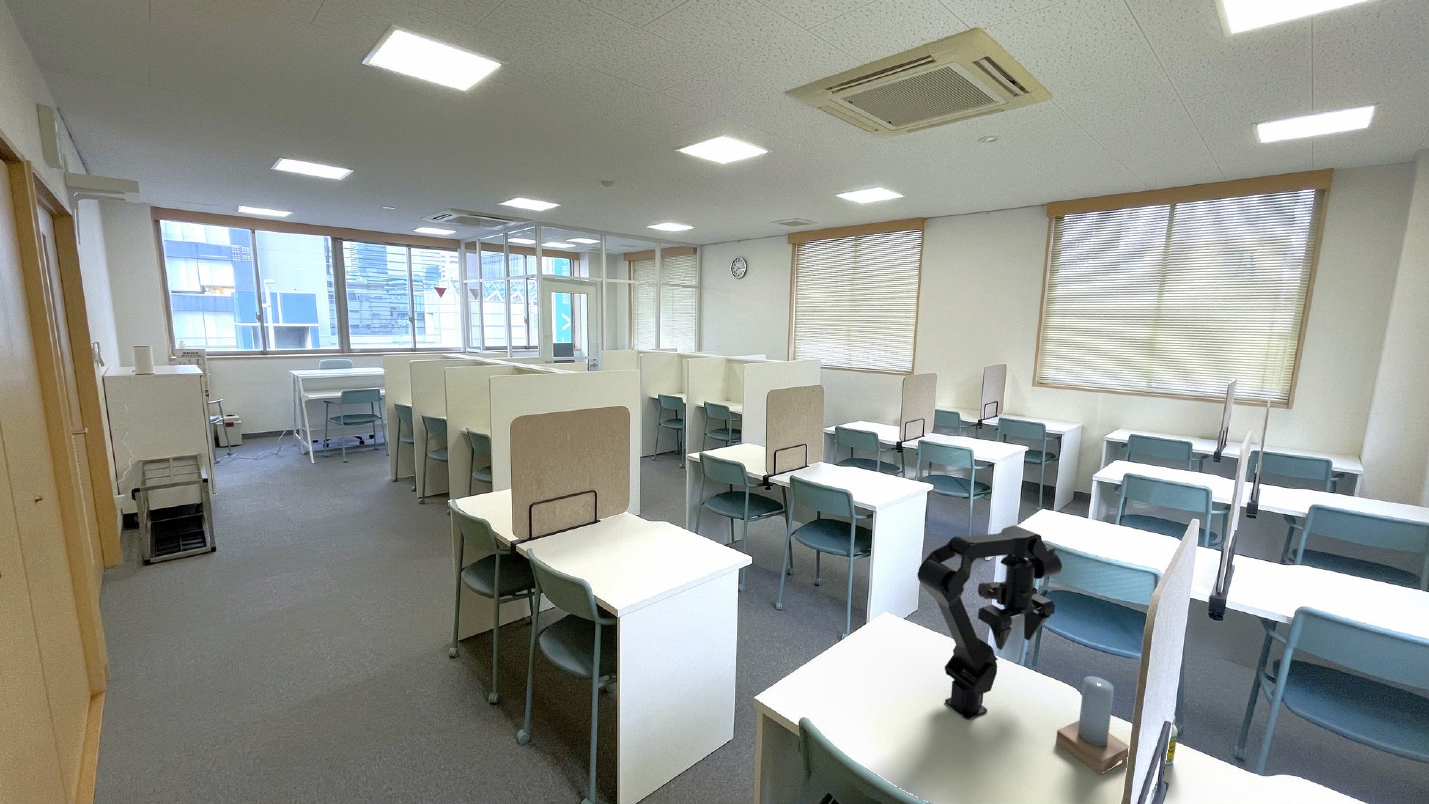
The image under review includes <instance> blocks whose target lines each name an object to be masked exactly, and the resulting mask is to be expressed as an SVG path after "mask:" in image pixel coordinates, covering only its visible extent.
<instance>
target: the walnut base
mask: <svg viewBox="0 0 1429 804" xmlns="http://www.w3.org/2000/svg"><path fill="white" fill-rule="evenodd" d="M1078 728H1079V720H1077V721H1074V722H1073V723H1070V724H1068V725H1065V726H1064V727H1060V728H1059V729H1057V731H1056V739H1055V743H1056V745H1058V746H1060V748H1062V749H1064V750H1065V751H1067V753H1069V754H1071V755H1072V756H1073V757H1075V758H1076V759H1078V761H1080V762H1081V763H1083V764H1085V765H1086V766H1087V767H1089V768H1090V769H1091V770H1093V771H1094V772H1095V771H1096V772H1095V773H1097V774H1098V775H1100V774H1101V775H1102V773H1103V772H1105V771H1107V770H1108V769H1110V768H1112V767H1113V766H1115V765H1116V764H1117V763H1118V762H1119V761H1121V760H1122V764H1125V763H1126V762H1128V761H1127V757H1128V748H1129V746H1130V745H1128V744H1127V743H1125V742H1124V741H1122V740H1121V739H1119V738H1118V737H1116V736H1114V735H1113V734H1112V733H1110V732H1109V734H1108V743H1107V745H1106V746H1105V747H1096V746H1093V745H1090V744H1088V743H1086V742H1085V741H1083V740H1082V739H1081V738H1080V737H1079V735H1078ZM1107 772H1108V771H1107ZM1105 773H1106V772H1105ZM1103 774H1104V773H1103Z"/></svg>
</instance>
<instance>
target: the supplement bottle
mask: <svg viewBox="0 0 1429 804" xmlns="http://www.w3.org/2000/svg"><path fill="white" fill-rule="evenodd" d="M1175 722H1176V716H1175V715H1174V719H1173V722H1172V735H1171V738H1170V742H1169V749H1168V753H1167V760H1166V765H1165V766H1167V765H1168V766H1169V765H1172V763H1174V759H1175V753H1176V746H1177V740H1178V728H1177V727H1176V725H1175Z"/></svg>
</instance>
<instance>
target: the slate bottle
mask: <svg viewBox="0 0 1429 804" xmlns="http://www.w3.org/2000/svg"><path fill="white" fill-rule="evenodd" d="M1114 690H1115V688H1114V685H1113V684H1112V683H1111V682H1109V681H1107V680H1105V678H1102V677H1098V676H1093V675H1089V676H1085V677H1084V678H1083V685H1082V694H1081V704H1080V711H1079V720H1078V721H1079V728H1078V735H1079V737H1080V738H1081V739H1082V740H1083V741H1085V742H1086V743H1088V744H1090V745H1093V746H1096V747H1105V746H1106V745H1107V743H1108V734H1109V733H1110V725H1111V717H1112V716H1111V715H1112V708H1113V699H1114V692H1115V691H1114Z"/></svg>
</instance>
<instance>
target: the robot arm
mask: <svg viewBox="0 0 1429 804" xmlns="http://www.w3.org/2000/svg"><path fill="white" fill-rule="evenodd" d="M1055 552H1056V548H1054V547H1052V546H1050V545H1045V543H1044V541H1043V539H1042V536H1041V534H1038V533H1036V532H1034V531H1031V530H1029V529H1026V528H1023V527H1020V526H1018V525H1016V524H1015V525H1011V526H1007V527H1004V528H1002V529H1001V531H1000V532H999V533H991V534H980V535H969V536H961V535H959V536H956V535H955V536H953V537H952V538H951V539H950V540H949V541H948V542H947V544H945V545H943V546H941V547H939V548H936V549H934V550H933V551H932V552H930V553H929V555H928V556H927V557H926V558H925V559H924V560H923V562H922V563H921V564H920V565H919V567H918V572H917V578H918V579H917V580H918V582H919V583H920V584H921V586H922V587H923V589H925V591H926V592H928V593H929V594H930V595H931V596H932V597H933V599H935V601H936V602H937V605H938V607H939V610H940V611H941V614H942V616H943V619H944V621H945V622H946V625H947V627H948V630H949V631H950V634H951V636H952V639H953V641H954V644H955V646H954V648H953V649H952V653H953V654H952V656H951V657H950V659H949V660H948V661H947V663H946V664H945V666H944V671H945V674H946V675H947V676H949V677H950V678H952V679H953V680H952V682H951V691H950V697H949V698H948V697H947V698H946V699H944V702H945V704H947V705H948V706H949V707H950V708H951V709H952V710H954V711H955V712H957V713H958V714H959V715H960V716H962V717H963V718H964V719H965V720H970V719H972V718H975V717H978V716H980V715H983V714H985V713H988V708H987V707H985V706H984V705H982V704H983V700H984V694H987V693H989V692H991V691H992V688H993V684H994V682H995V679H996V676H997V673H998V664H997V661H998V658H997V657H996V655H995V651H994V649H993V647H992V646H991V645H990V644H989V643H987V642H985V641H983V640H982V639H980V638H979V637H978V636H977V634H976V631H975V629H974V627H973V624H972V622H971V619H970V617H969V614H968V613H967V610H966V607H965V605H964V603H963V600H962V598H961V596H962V594H963V593H964V591H965V589H964V586H965V584H966V583H967V582H968V581H969V579H970V578H971V570H972V566H973V563H974V561H975V560H977V559H982V558H992V557H999V556H1004V557H1003V558H1002V559H1001V560H1000V564H1002V565H1004V566H1006V571H1005V580H1004V581H1001V582H999V581H990V582H985V581H982V582H980V583H978V587H977V592H978V595H979V596H980V597H981V598H983V599H985V600H990V599H991V600H994V601H995V600H996V604H999V605H1000V606H1003V607H1004V608H1002V609H1001V608H1000V607H997V606H996V605H994V604H990V605H986V606H981V607H980V608H978V610H977V619H979V621H981V622H983V623H984V624H987V625H988V626H989V628H990V629H991V632H992V635H993V639H994V643H995V646H996V648H997V649H998V650H1000V651H1001V650H1003V649H1004V647H1005V646H1006V643H1007V640H1008V638H1009V636H1010V634H1011V631H1012V627H1011V626H1012V623H1013V618H1016V617H1018V616H1022V615H1023V616H1024V617H1023V619H1024V621H1023V623H1024V624H1023V625H1024V626H1023V627H1024V629H1023V633H1024V634H1023V635H1024V636H1023V637H1024V639H1025V640H1026V641H1028V642H1029V641H1030V640H1031V639H1032V638H1033V637H1034V635H1036V633H1037V632H1038V630H1039V629H1040V628H1041V627H1042V626H1043V625H1044V623H1045V622H1046V621H1047V620H1048V619H1049V618H1051V615H1053V614H1055V610H1056V609H1055V608H1056V605H1055V604H1054V602H1053V600H1051V599H1049V598H1047V597H1045V596H1043V595H1041V594H1039V593H1038V588H1036V587H1034V583H1035V579H1037V580H1040V579H1044V578H1046V577H1050V576H1055V575H1057V574H1058V575H1059V573H1061V571H1062V568H1063V564H1062V561H1061V558H1060V557H1059V556H1058V554H1057V553H1055ZM955 556H958V557H960V558H961V560H960V566H959V568H958V569H957V570H955V569H953V568H951V567H949V566H947V565H945V564H943V562H946V561H948V560H949V559H952V558H954V557H955Z"/></svg>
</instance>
